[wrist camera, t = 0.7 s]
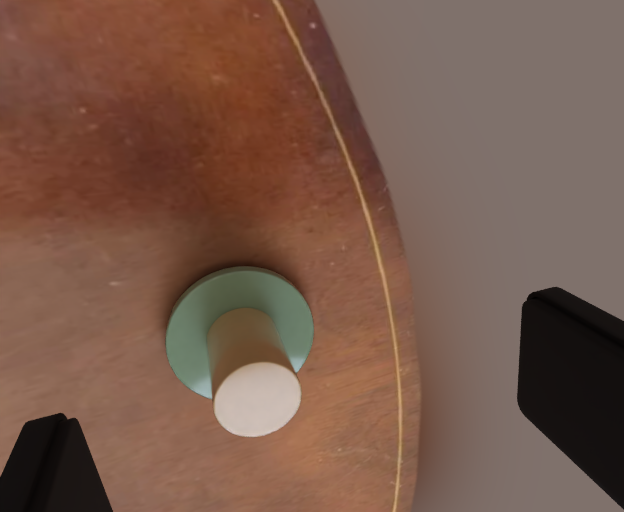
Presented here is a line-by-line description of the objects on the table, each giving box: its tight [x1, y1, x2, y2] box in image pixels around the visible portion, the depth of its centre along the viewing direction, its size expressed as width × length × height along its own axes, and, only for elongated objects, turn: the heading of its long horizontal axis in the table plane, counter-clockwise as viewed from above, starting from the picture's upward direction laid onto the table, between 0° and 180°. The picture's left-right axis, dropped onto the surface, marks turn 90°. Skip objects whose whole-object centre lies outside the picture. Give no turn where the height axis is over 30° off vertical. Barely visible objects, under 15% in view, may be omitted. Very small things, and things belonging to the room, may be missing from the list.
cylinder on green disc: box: [165, 266, 314, 437], centre depth 24 cm, size 8×8×7 cm
